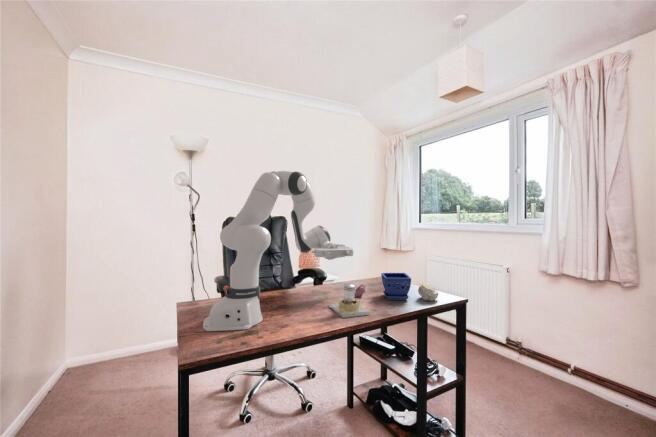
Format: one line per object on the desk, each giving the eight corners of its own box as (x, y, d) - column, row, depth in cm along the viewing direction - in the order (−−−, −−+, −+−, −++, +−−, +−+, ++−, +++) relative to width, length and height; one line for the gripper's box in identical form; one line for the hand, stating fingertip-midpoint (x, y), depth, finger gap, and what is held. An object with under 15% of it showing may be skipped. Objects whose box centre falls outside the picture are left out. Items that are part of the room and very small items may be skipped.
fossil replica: (433, 296, 151) (414, 298, 151) (431, 280, 152) (413, 282, 151) (443, 301, 139) (423, 303, 139) (441, 284, 140) (421, 286, 139)
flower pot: (384, 301, 142) (384, 277, 141) (380, 294, 155) (380, 272, 155) (411, 301, 141) (411, 278, 141) (405, 294, 154) (405, 272, 154)
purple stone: (360, 300, 148) (367, 288, 147) (353, 296, 149) (359, 284, 148) (362, 295, 158) (367, 284, 157) (354, 291, 158) (360, 280, 158)
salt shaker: (346, 309, 124) (346, 286, 124) (341, 306, 129) (342, 284, 129) (356, 308, 126) (357, 286, 126) (351, 305, 131) (352, 283, 131)
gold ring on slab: (342, 318, 118) (342, 308, 118) (329, 307, 133) (329, 298, 132) (370, 314, 123) (370, 305, 123) (355, 304, 137) (355, 295, 137)
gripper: (310, 245, 148) (319, 248, 135) (346, 244, 155) (358, 247, 142) (310, 257, 148) (318, 261, 135) (346, 256, 155) (357, 260, 142)
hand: (339, 254), depth 139 cm, fingers open, 8 cm apart
